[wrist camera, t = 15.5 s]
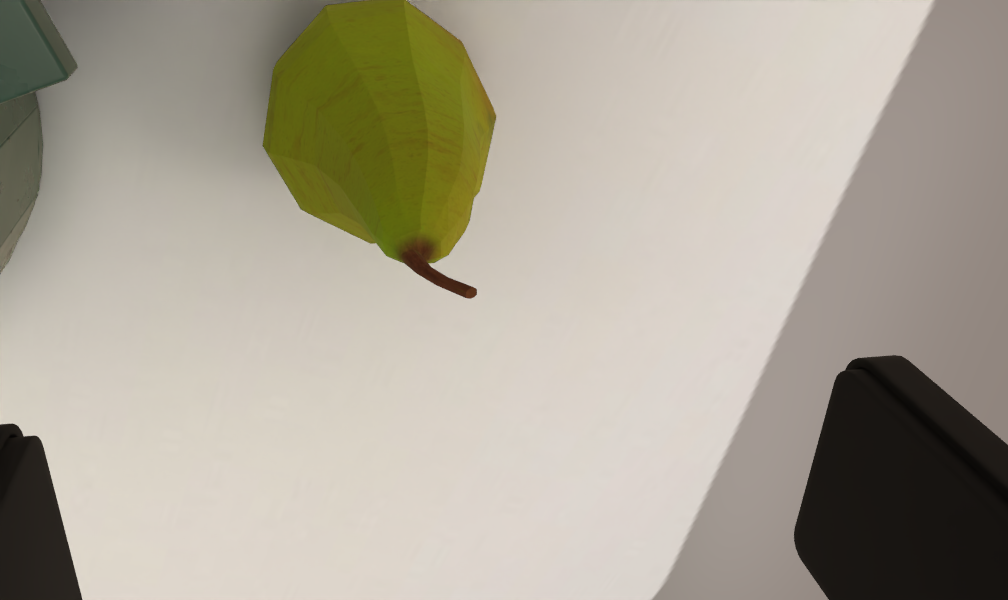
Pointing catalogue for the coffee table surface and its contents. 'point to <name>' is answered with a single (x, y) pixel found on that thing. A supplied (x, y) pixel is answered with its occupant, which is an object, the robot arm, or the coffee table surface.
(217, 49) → the coffee table surface
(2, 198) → the pot
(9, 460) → the robot arm
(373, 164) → the fruit
